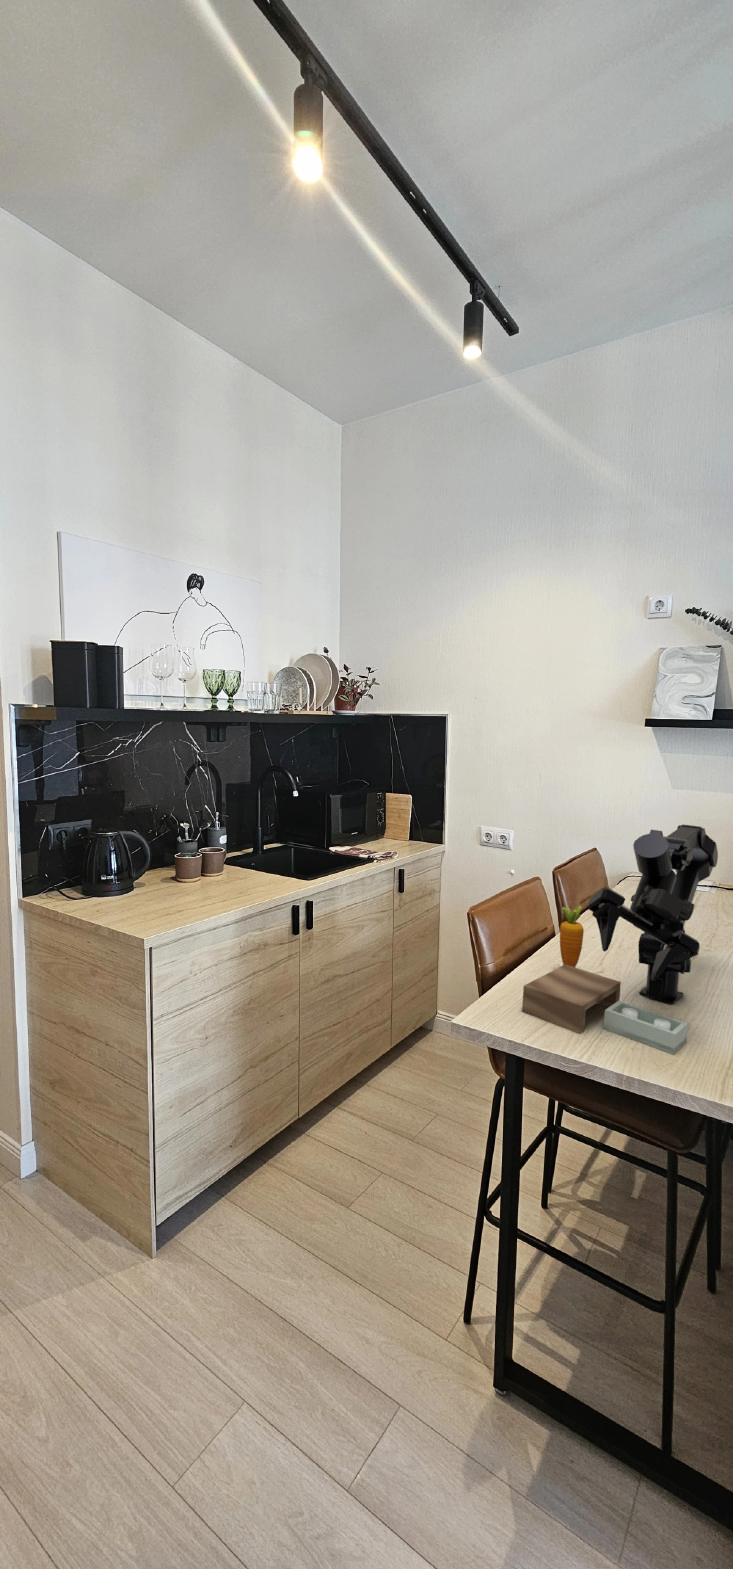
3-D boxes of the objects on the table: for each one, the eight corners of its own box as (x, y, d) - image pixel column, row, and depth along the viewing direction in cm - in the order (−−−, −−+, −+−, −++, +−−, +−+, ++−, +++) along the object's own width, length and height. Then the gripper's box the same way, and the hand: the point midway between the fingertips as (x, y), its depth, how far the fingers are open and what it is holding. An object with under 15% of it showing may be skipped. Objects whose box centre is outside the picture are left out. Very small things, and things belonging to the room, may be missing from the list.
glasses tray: (617, 1018, 122) (619, 1000, 121) (686, 1042, 113) (688, 1023, 113) (603, 1028, 117) (605, 1009, 117) (673, 1054, 109) (675, 1034, 109)
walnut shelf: (563, 988, 134) (565, 964, 134) (618, 1006, 127) (620, 981, 126) (522, 1011, 123) (523, 985, 123) (579, 1033, 115) (581, 1006, 115)
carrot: (553, 974, 142) (558, 906, 140) (560, 967, 146) (565, 901, 144) (576, 980, 139) (581, 910, 137) (583, 973, 143) (588, 905, 141)
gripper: (630, 848, 115) (603, 920, 107) (728, 905, 113) (708, 983, 105) (599, 872, 124) (572, 940, 116) (689, 925, 122) (668, 999, 114)
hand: (629, 965), depth 112 cm, fingers open, 9 cm apart
